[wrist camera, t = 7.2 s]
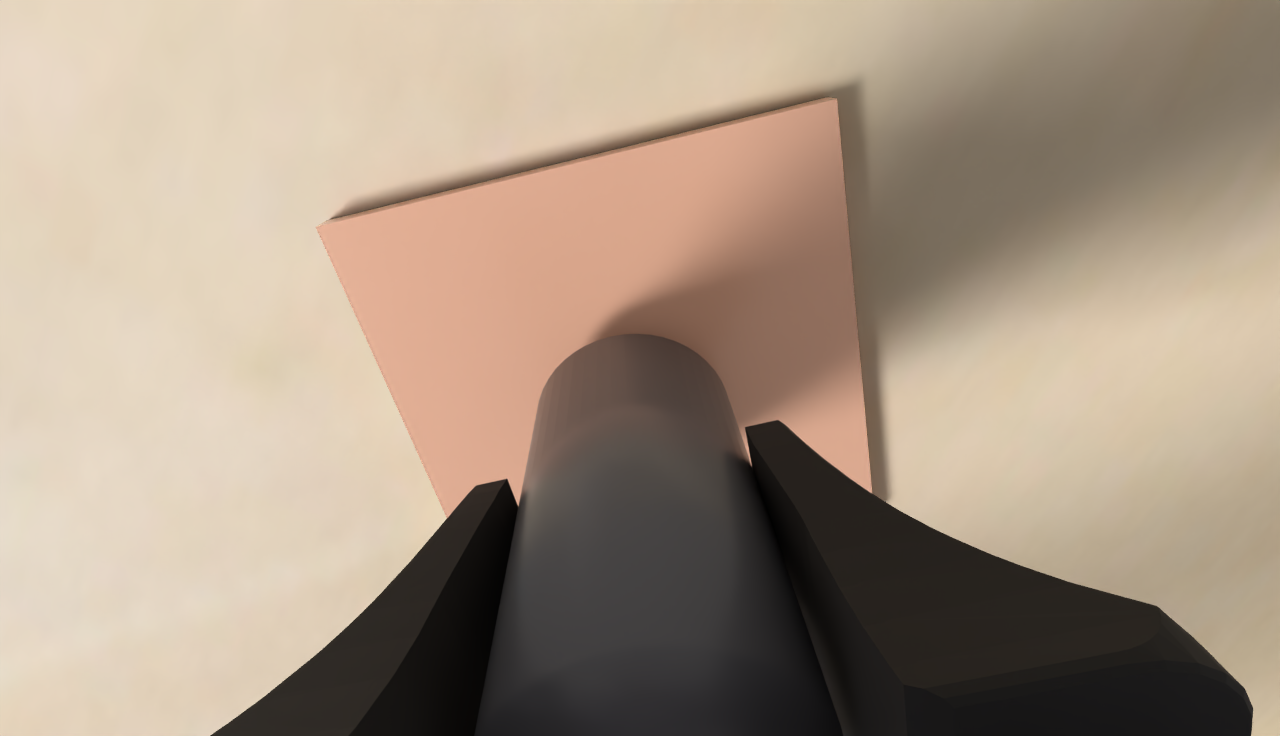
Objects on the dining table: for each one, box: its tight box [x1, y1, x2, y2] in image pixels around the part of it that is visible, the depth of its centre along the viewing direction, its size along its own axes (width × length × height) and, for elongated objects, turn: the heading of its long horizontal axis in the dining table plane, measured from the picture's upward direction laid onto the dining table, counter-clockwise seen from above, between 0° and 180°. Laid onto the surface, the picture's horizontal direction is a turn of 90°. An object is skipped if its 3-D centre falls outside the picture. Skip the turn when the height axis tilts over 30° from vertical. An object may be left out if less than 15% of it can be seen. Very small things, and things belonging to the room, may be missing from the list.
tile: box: [316, 97, 872, 518], centre depth 16 cm, size 11×11×1 cm
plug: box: [474, 334, 843, 736], centre depth 11 cm, size 4×4×8 cm
